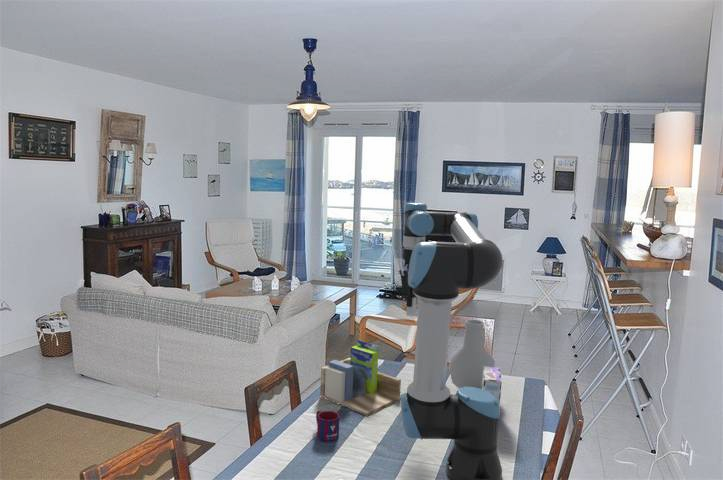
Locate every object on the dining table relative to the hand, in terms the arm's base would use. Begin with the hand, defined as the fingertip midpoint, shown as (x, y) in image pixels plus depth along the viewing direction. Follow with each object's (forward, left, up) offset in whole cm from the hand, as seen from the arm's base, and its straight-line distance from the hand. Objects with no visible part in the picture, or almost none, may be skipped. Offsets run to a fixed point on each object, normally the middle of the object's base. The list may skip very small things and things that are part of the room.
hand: (410, 315), depth 193 cm
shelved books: (-14, +20, -31) cm, 40 cm away
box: (-2, +18, -32) cm, 37 cm away
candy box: (+10, -27, -33) cm, 44 cm away
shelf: (-7, +15, -32) cm, 36 cm away
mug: (-36, +5, -33) cm, 49 cm away
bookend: (-8, +19, -31) cm, 38 cm away
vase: (+24, -12, -33) cm, 42 cm away
